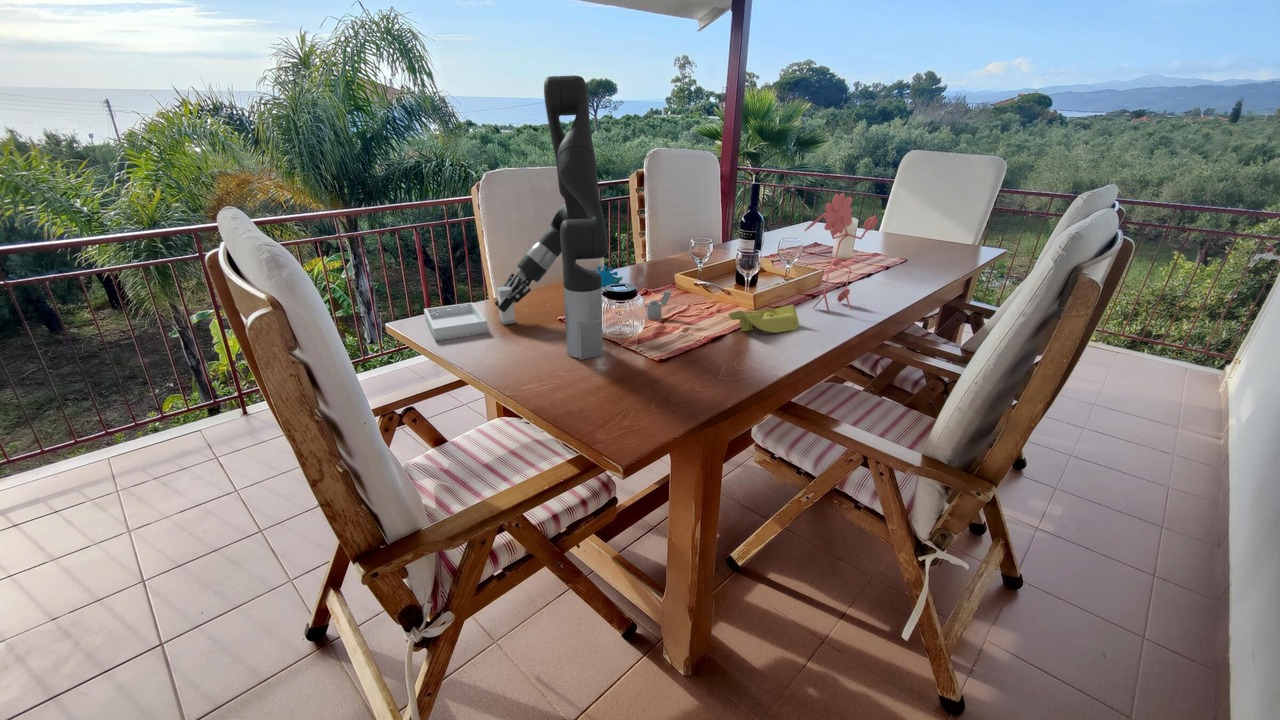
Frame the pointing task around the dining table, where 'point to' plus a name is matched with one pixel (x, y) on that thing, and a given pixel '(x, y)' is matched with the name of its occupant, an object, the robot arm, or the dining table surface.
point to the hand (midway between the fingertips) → (499, 307)
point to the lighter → (657, 306)
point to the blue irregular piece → (608, 276)
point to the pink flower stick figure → (836, 222)
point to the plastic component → (768, 319)
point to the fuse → (509, 314)
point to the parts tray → (455, 321)
